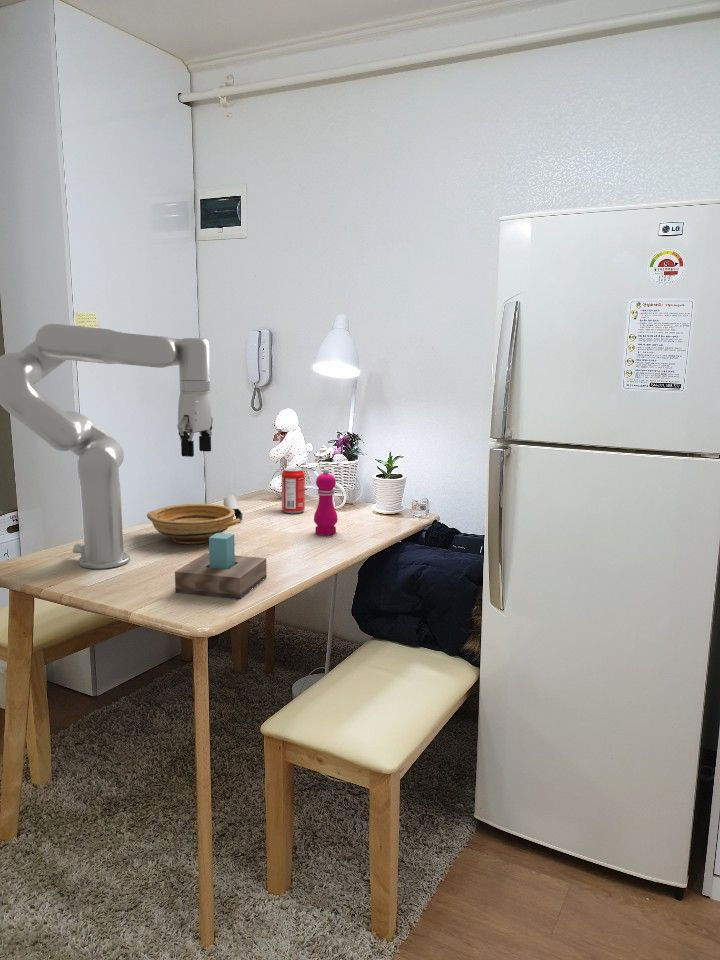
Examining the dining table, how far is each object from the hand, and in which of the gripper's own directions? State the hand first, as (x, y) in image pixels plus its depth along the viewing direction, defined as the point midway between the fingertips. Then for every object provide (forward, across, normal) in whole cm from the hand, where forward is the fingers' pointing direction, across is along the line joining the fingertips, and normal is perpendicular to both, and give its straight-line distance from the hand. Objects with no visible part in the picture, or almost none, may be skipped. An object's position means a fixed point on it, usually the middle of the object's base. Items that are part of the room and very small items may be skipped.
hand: (196, 453), depth 189 cm
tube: (+29, -50, -13) cm, 59 cm away
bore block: (+28, +18, +15) cm, 37 cm away
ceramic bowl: (+28, -18, -11) cm, 35 cm away
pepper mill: (+28, -36, +24) cm, 52 cm away
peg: (+27, +18, +15) cm, 36 cm away
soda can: (+28, -60, +5) cm, 67 cm away
